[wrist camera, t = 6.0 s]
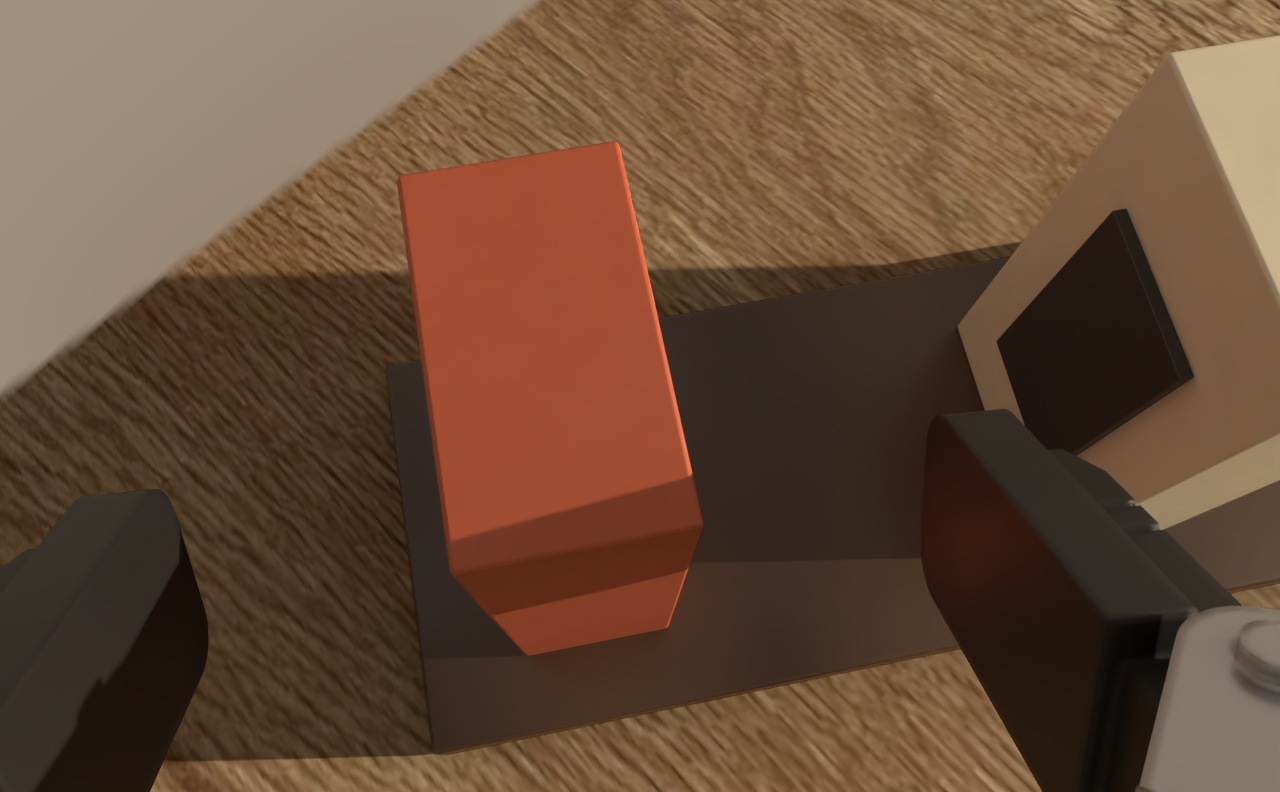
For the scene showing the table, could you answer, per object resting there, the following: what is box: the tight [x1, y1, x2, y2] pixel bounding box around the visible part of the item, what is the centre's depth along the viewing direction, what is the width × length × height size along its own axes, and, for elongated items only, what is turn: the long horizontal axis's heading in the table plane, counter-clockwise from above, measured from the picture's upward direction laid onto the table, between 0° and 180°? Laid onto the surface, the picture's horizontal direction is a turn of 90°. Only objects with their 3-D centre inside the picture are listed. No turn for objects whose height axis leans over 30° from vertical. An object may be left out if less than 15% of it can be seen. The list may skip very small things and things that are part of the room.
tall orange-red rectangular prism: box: [397, 141, 703, 656], centre depth 14 cm, size 3×4×8 cm, turn 11°
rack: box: [386, 257, 1280, 755], centre depth 19 cm, size 24×7×1 cm, turn 101°
